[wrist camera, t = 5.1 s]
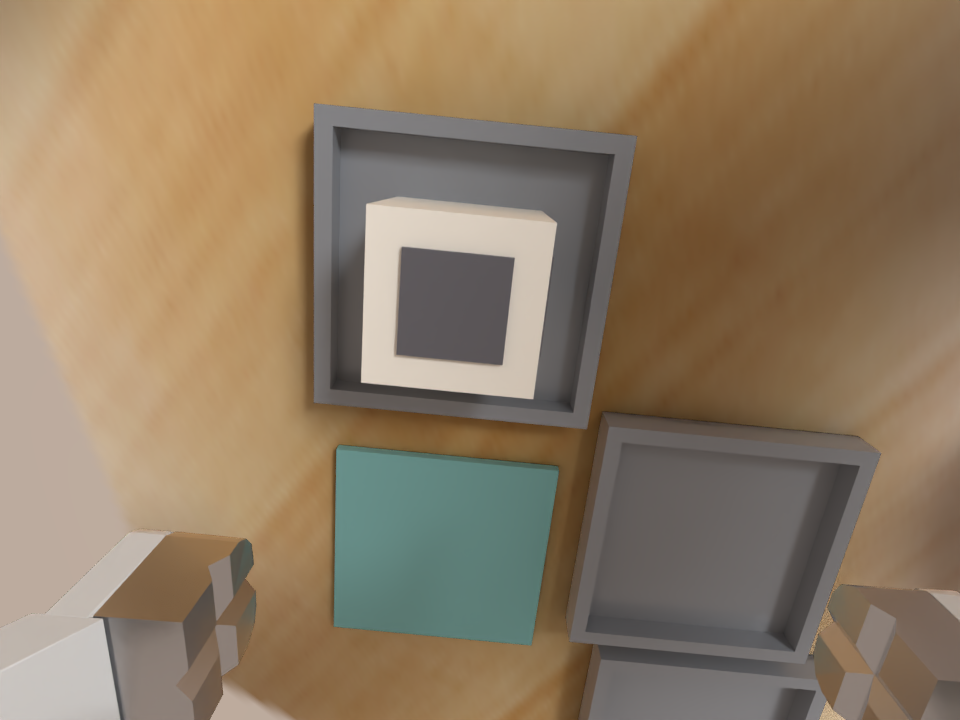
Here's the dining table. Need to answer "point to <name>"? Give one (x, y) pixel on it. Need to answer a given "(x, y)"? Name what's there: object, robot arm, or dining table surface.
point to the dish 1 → (474, 180)
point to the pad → (440, 543)
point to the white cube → (455, 295)
